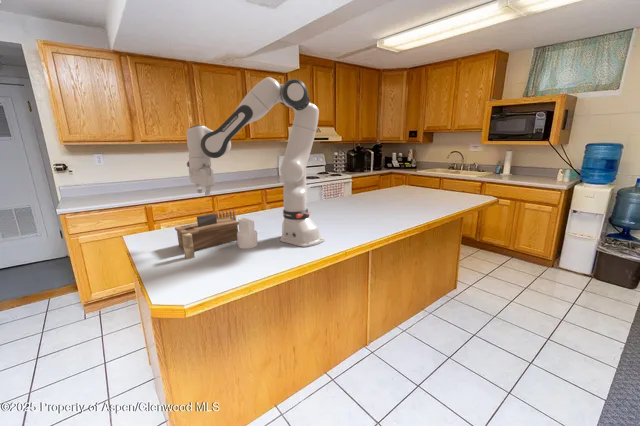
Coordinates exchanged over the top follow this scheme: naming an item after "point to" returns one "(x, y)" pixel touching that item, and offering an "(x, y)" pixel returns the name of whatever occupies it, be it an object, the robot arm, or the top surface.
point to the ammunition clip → (226, 215)
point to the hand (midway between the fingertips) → (203, 194)
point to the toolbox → (211, 238)
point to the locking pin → (188, 246)
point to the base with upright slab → (246, 234)
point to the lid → (206, 224)
